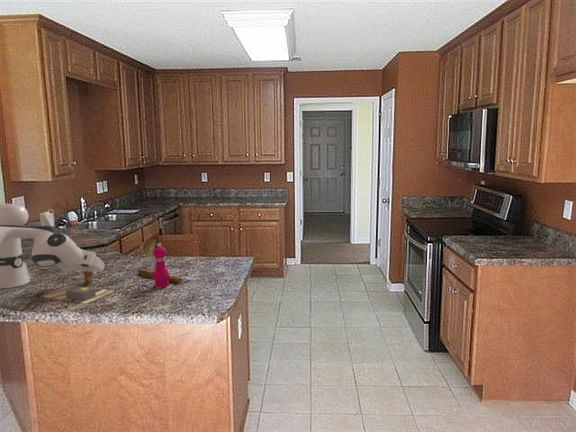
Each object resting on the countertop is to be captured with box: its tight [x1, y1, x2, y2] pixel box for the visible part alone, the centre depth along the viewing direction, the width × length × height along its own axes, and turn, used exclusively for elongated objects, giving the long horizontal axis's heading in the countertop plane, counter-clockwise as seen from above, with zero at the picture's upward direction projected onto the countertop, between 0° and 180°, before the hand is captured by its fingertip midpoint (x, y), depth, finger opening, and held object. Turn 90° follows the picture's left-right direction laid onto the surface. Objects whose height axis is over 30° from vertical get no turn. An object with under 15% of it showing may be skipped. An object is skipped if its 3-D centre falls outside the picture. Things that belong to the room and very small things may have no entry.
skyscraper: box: [38, 208, 55, 227], centre depth 265 cm, size 8×8×28 cm
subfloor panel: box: [40, 284, 115, 304], centre depth 192 cm, size 26×16×1 cm, turn 68°
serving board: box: [68, 231, 110, 249], centre depth 295 cm, size 39×23×6 cm, turn 36°
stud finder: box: [66, 285, 96, 301], centre depth 187 cm, size 10×6×4 cm, turn 69°
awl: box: [83, 271, 94, 285], centre depth 206 cm, size 3×3×13 cm
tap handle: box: [137, 268, 183, 285], centre depth 216 cm, size 3×3×30 cm
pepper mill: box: [152, 243, 170, 288], centre depth 203 cm, size 7×7×20 cm
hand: (88, 273), depth 207 cm, fingers open, 4 cm apart
